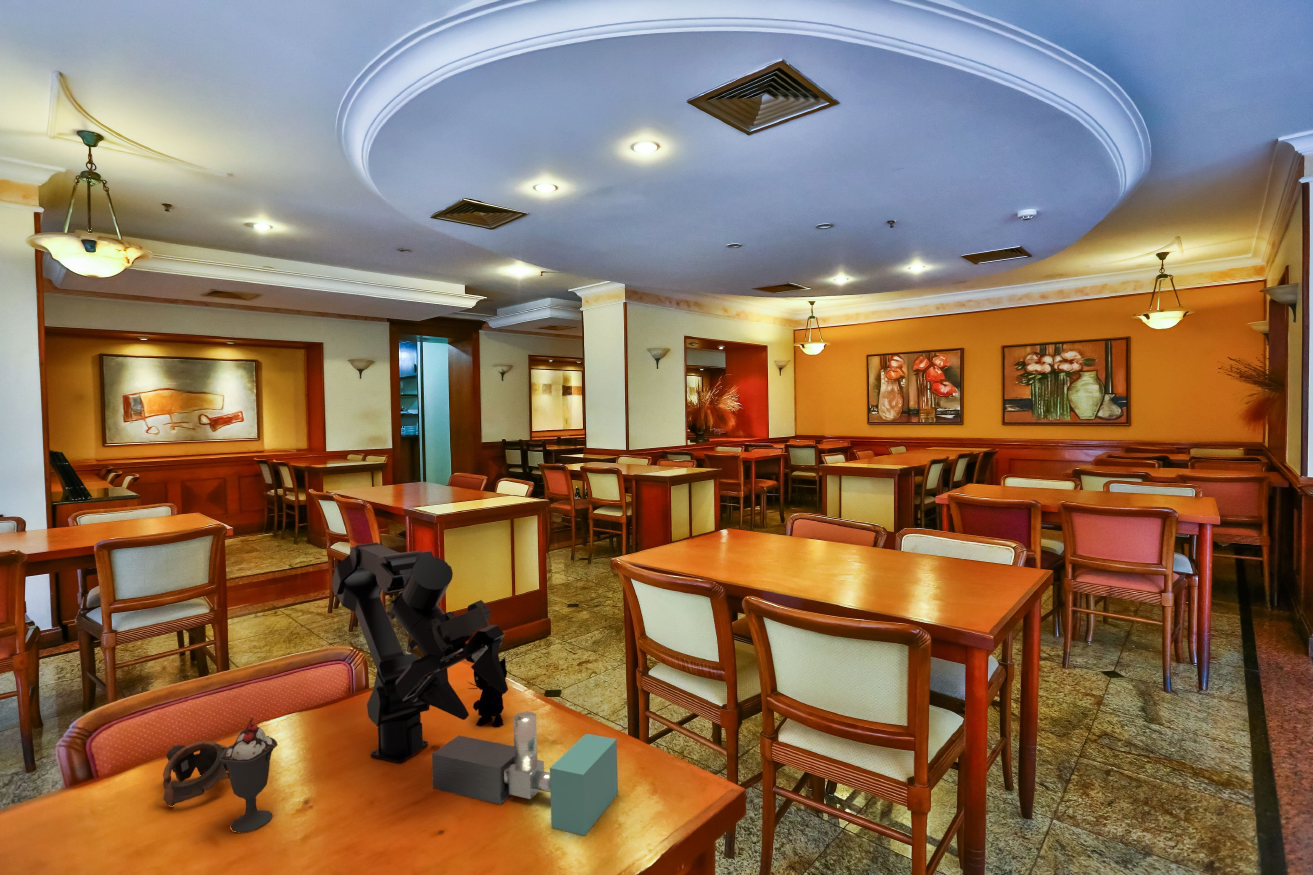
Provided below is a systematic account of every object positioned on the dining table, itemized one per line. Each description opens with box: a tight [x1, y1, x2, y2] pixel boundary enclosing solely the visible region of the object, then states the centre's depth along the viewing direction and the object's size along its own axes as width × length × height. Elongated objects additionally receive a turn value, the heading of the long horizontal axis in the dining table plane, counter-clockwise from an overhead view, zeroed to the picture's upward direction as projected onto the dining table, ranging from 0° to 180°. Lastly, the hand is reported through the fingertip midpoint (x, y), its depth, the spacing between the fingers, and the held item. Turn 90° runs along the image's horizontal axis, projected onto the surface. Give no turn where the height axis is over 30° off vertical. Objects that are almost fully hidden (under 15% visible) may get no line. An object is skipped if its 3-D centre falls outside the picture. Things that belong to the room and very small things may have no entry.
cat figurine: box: [466, 657, 508, 728], centre depth 116 cm, size 7×7×12 cm
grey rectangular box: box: [431, 735, 515, 806], centre depth 95 cm, size 12×6×5 cm, turn 68°
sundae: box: [219, 716, 278, 834], centre depth 88 cm, size 7×7×15 cm
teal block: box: [549, 733, 619, 837], centre depth 89 cm, size 5×10×8 cm, turn 158°
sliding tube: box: [504, 711, 550, 800], centre depth 94 cm, size 19×4×11 cm, turn 68°
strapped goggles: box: [162, 740, 230, 806], centre depth 96 cm, size 12×10×8 cm
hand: (487, 704), depth 94 cm, fingers open, 9 cm apart
